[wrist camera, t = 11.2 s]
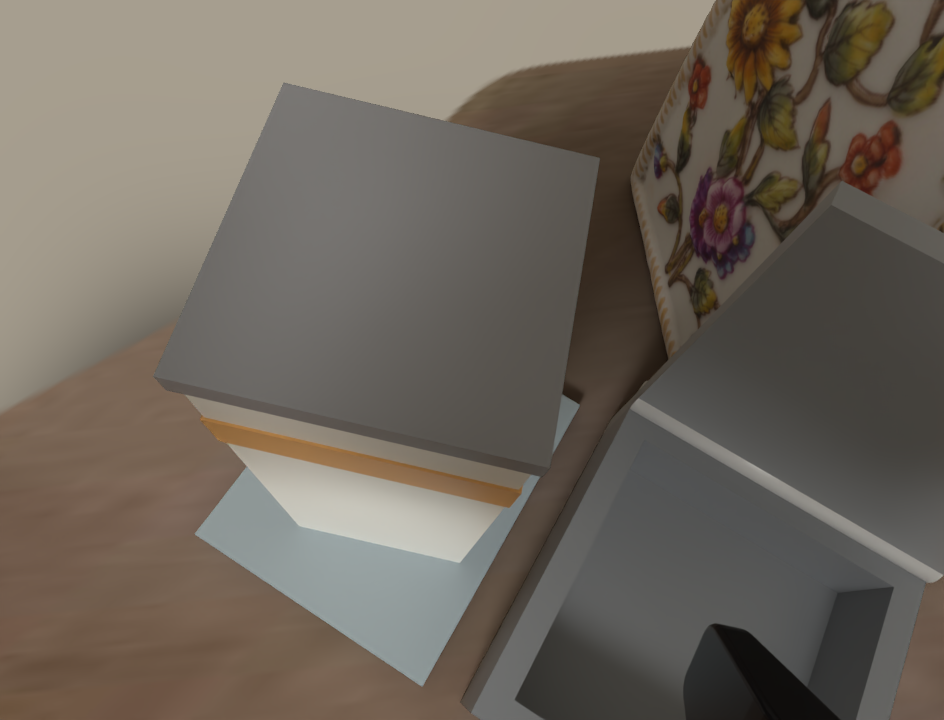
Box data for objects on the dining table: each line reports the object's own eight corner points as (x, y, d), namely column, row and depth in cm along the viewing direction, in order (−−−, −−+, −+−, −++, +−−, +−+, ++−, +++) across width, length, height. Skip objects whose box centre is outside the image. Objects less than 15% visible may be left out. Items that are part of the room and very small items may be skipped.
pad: (421, 685, 19) (422, 686, 18) (200, 536, 20) (194, 534, 19) (576, 410, 23) (580, 405, 22) (384, 297, 24) (384, 289, 23)
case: (760, 902, 18) (1496, 1437, 6) (460, 702, 19) (565, 809, 7) (866, 563, 22) (1429, 472, 10) (613, 414, 23) (845, 172, 11)
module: (462, 567, 20) (549, 468, 8) (295, 528, 20) (152, 376, 8) (494, 409, 22) (599, 157, 10) (343, 374, 22) (283, 82, 10)
